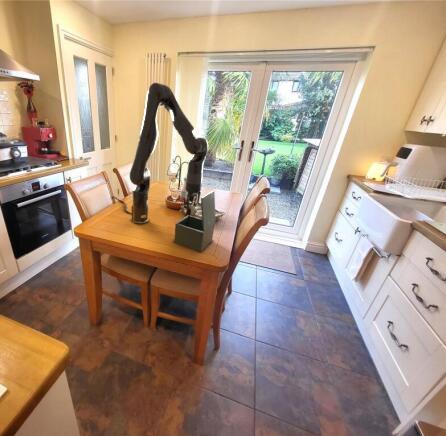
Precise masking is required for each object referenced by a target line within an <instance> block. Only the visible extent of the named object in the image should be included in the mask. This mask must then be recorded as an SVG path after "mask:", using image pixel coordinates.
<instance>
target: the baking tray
mask: <svg viewBox="0 0 446 436" xmlns="http://www.w3.org/2000/svg"><path fill="white" fill-rule="evenodd" d="M180 208H181V209H180V210H179V212H181V213H183V214H186V208H184V206H182V205H180ZM196 209H197V212H196V214H195V215H193V217H197V218H200V219H202V209H201V202H199V203H197V206H196ZM226 214H227V213H226V212H225V211H219V210H217V209H216V208H215V221H217V220H219V219H220V218H223V216H224V215H226Z"/></svg>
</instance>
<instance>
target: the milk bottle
mask: <svg viewBox="0 0 446 436" xmlns="http://www.w3.org/2000/svg"><path fill="white" fill-rule="evenodd" d="M186 177H187V176H184V178H183V183H182V185H181V188H180V194H179V195H180V197H179V200H180V199H181V200H184V197H185V198H186V197H187V194H188V192H187V191H186ZM190 203H192V202H190Z"/></svg>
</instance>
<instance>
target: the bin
mask: <svg viewBox="0 0 446 436" xmlns="http://www.w3.org/2000/svg"><path fill="white" fill-rule="evenodd" d="M215 224H216V222H215V223H214V224H213V225H212V226H210V227H209V228H208V229H207V230H206V231H205V232H203V227H202V219H200V218H198V217H193V216H187V215H186V216H184V217H183V218H182V219H180V220H179V221H177V222H176V223H175V226H174V240H173V242H174V243H176V244H179V245H180V246H181V245H182V246H184V247H187V248H189V249H192V250H195V251H198V252H200V253H202V252H203V250H205V249H206V248H207V247H208V245H210V243H212V242H213V237H214V231H215Z"/></svg>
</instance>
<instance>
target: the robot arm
mask: <svg viewBox="0 0 446 436" xmlns="http://www.w3.org/2000/svg"><path fill="white" fill-rule="evenodd" d="M159 107H163V108H164V109H165V110H166V111H167V112H168V114H169V116H170V117H171V123H172V125H173V127H174V130H175V131H176V132H177V133H178V136H179V137H181V140H182V143H183V145H184V148H185V150H186V151H187V152H188V154H190V155H193V156H192V157H191V158H190V159H189V160H188V162H187V171H186V176H185V177H186V191H187V192H188V194H187V197H186V198H185V197H184V208H186V209H187V210H186V213H185V215H186V216H190V215H191V207H192V205H193V206H195V207H196V206H197V203H200V200H201V195H202V192H201V191H202V185H203V184H202V183H203V169H204V163H205V161H206V157H207V154H208V150H209V143H208V140H207V139H206V138H205V137H196V136H195V133H196V129H195V127H194V125H193V124H192V123H191V121H190V120H189V118H188V117H187V116H186V115H185V113H184V112H183V109H182V108H181V106H180V105H179V102H178V101H177V98H176V96H175V94H174V92H173V91H172V89H171V87H169V86H168V85H166V84H162V83H160V82H153V83H151V84H150V85H149V87H148V90H147V93H146V100H145V108H144V114H143V120H142V124H141V129H140V133H139V137H138V143H137V147H136V151H135V156H134V158H133V163H132V165H131V169H130V171H129V180H130V182H131V184H133V185H134V187H133V188H132V205H131V206H130V207H131V208H130V209H131V212H130V211H128V210H126V207H127V206H126V202H125V201H123V200H121V199H119V198H117V197H116V196H112V199H115V200H116V201H119V202H121V203H122V204H123V207H124V208H123V211H124V212H125V213H127V214H129V215H131V220H132V222H133V223H134V224H141V225H142V224H146V223H148V222H149V192H150V187H151V172H150V170H149V168H148V167H147V163H148V161H149V159H150V158H151V156H152V154H153V153H154V151H155V149H156V146H157V142H158V138H159V128H158V123H157V115H158V110H159ZM189 202H191V203H189Z"/></svg>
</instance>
